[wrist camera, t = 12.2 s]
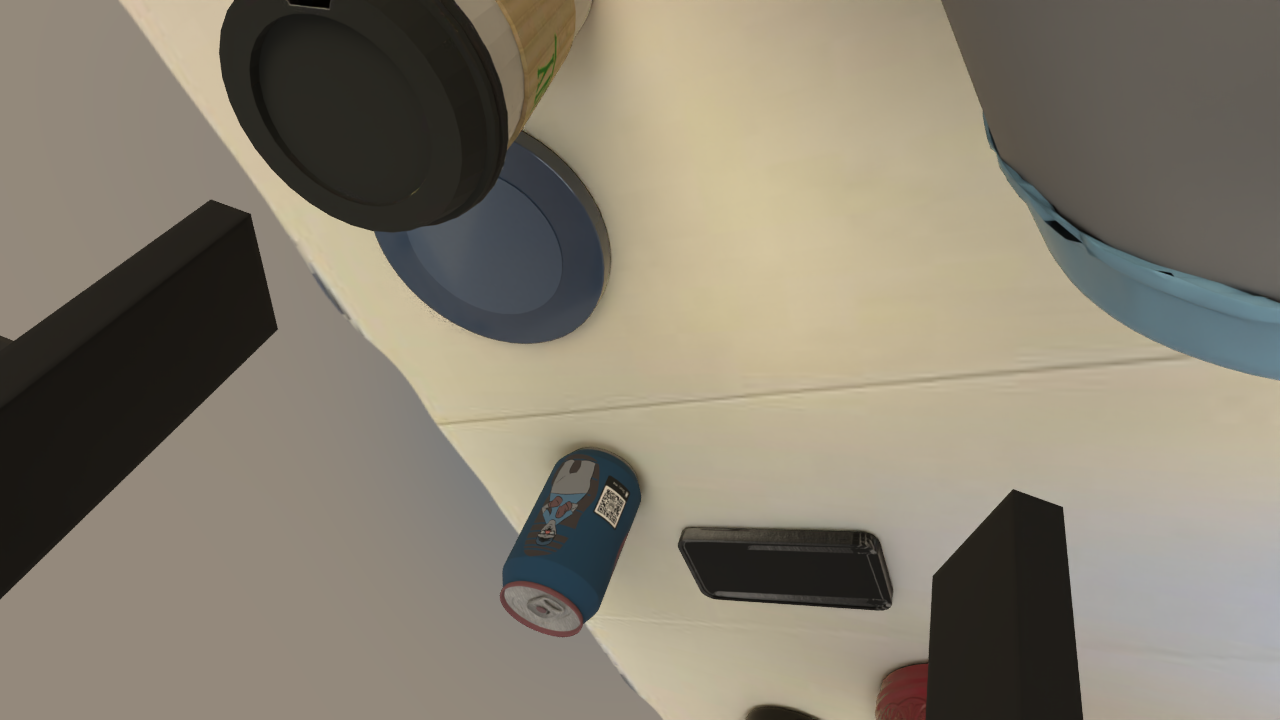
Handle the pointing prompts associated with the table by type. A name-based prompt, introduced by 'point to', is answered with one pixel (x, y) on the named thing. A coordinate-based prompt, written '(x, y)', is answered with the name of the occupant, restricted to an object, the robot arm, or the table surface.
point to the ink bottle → (775, 714)
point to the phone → (789, 567)
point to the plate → (512, 253)
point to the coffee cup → (391, 97)
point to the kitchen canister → (903, 694)
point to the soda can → (571, 542)
